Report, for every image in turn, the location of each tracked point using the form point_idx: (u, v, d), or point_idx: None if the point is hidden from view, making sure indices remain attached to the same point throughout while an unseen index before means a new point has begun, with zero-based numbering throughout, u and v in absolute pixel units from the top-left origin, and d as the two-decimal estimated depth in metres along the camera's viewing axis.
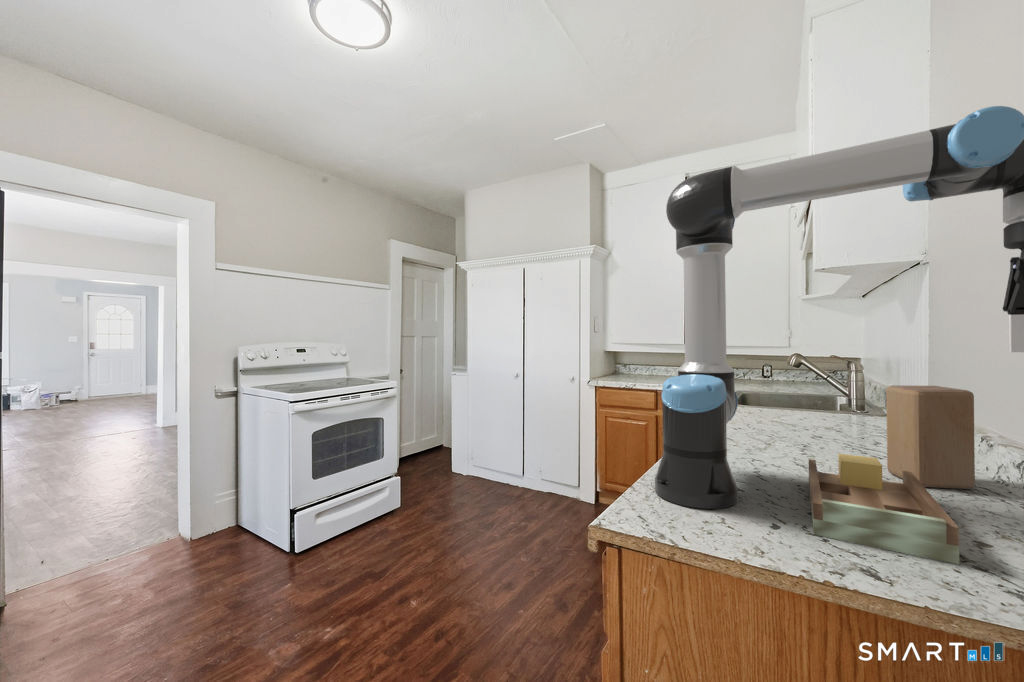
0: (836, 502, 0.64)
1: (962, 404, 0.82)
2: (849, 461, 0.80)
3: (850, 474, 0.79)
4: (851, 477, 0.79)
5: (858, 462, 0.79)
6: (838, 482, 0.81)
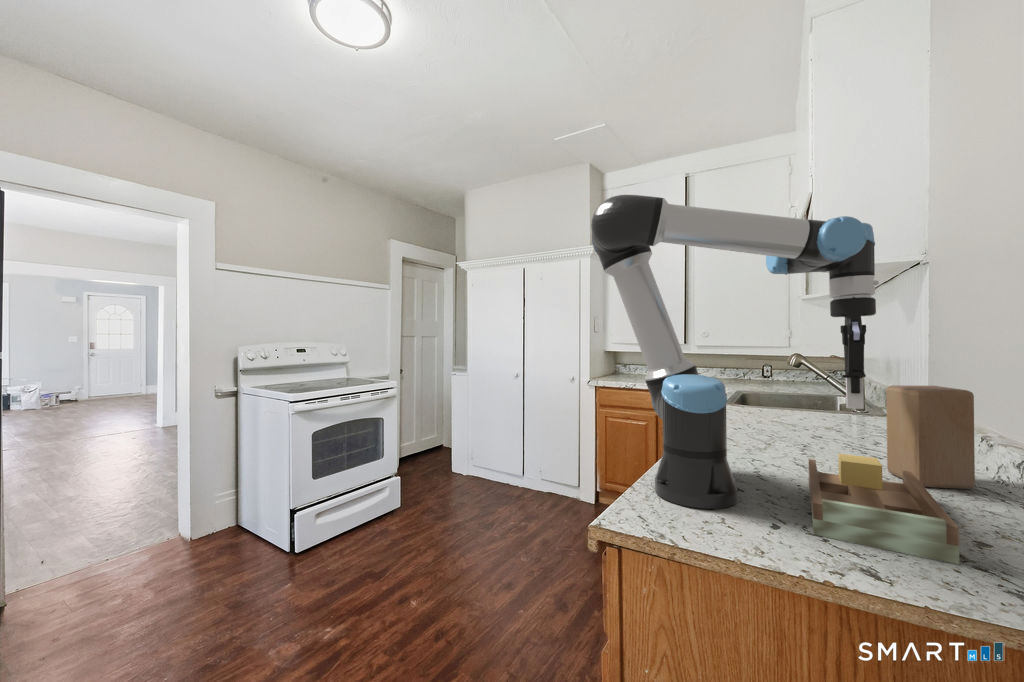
0: (836, 502, 0.64)
1: (962, 404, 0.82)
2: (849, 461, 0.80)
3: (850, 474, 0.79)
4: (851, 477, 0.79)
5: (858, 462, 0.79)
6: (838, 482, 0.81)
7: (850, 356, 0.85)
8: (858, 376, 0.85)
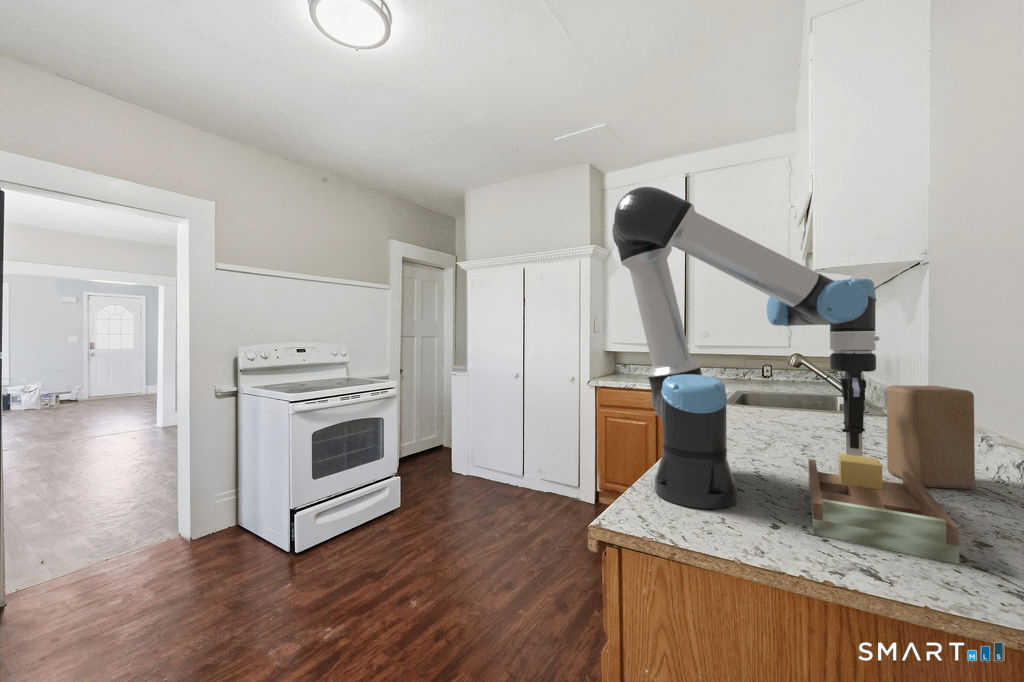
0: (836, 502, 0.64)
1: (962, 404, 0.82)
2: (849, 461, 0.80)
3: (850, 474, 0.79)
4: (851, 477, 0.79)
5: (858, 462, 0.79)
6: (838, 482, 0.81)
7: (850, 412, 0.85)
8: (857, 432, 0.85)
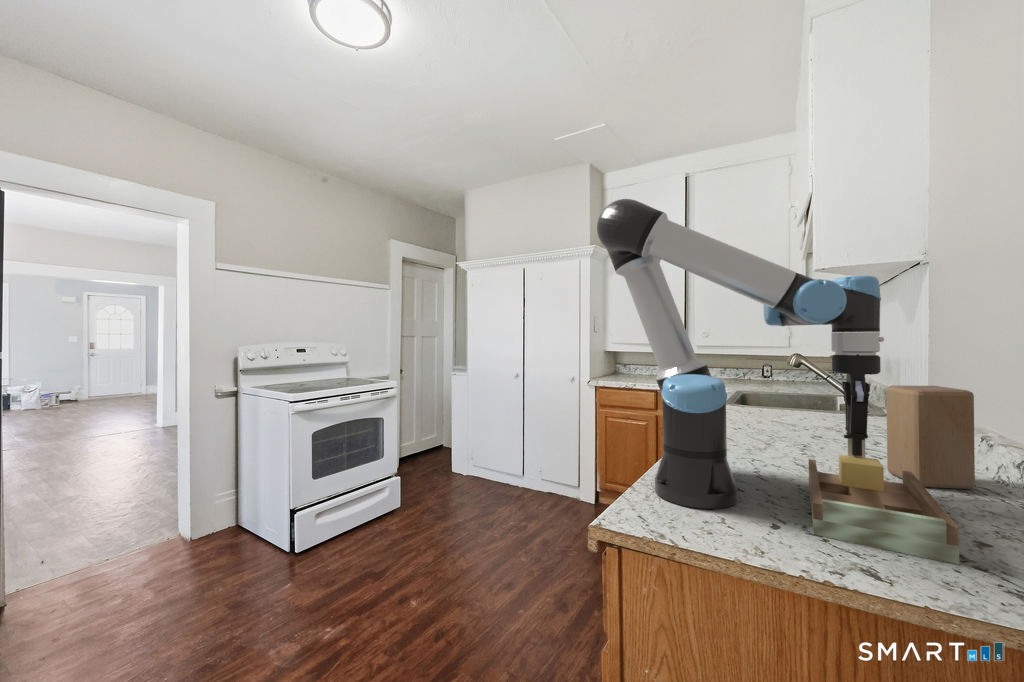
0: (836, 502, 0.64)
1: (962, 404, 0.82)
2: (850, 462, 0.79)
3: (851, 475, 0.78)
4: (853, 478, 0.78)
5: (859, 463, 0.78)
6: (838, 482, 0.81)
7: (852, 418, 0.80)
8: (860, 438, 0.80)
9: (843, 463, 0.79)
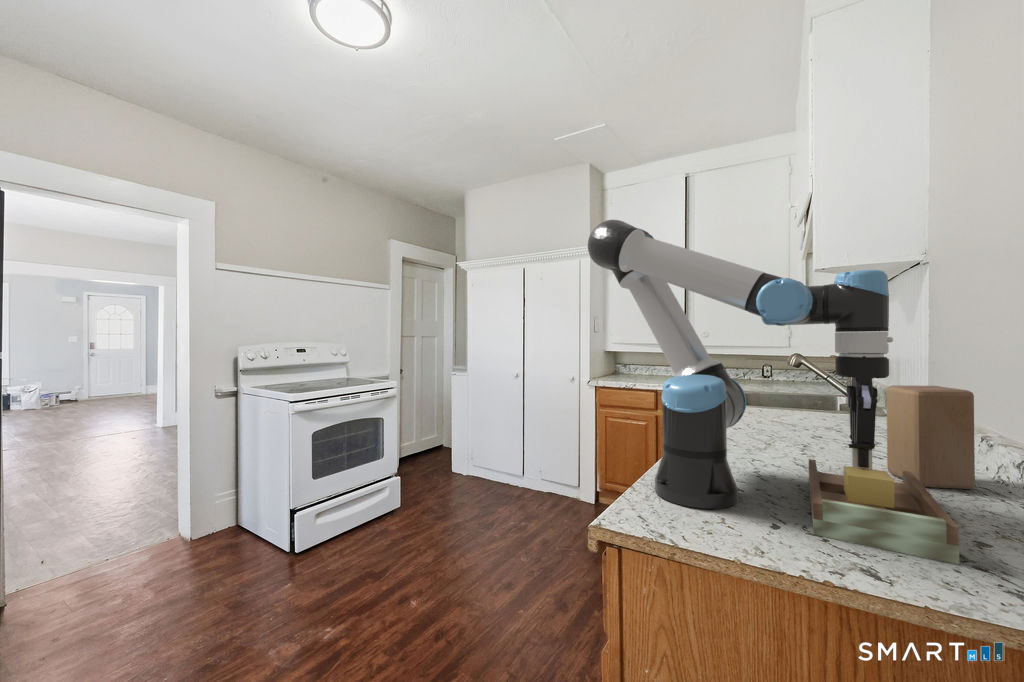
0: (836, 502, 0.64)
1: (962, 404, 0.82)
2: (857, 475, 0.71)
3: (858, 490, 0.71)
4: (860, 493, 0.71)
5: (867, 476, 0.71)
6: (838, 482, 0.81)
7: (859, 426, 0.72)
8: (867, 448, 0.73)
9: (849, 476, 0.72)
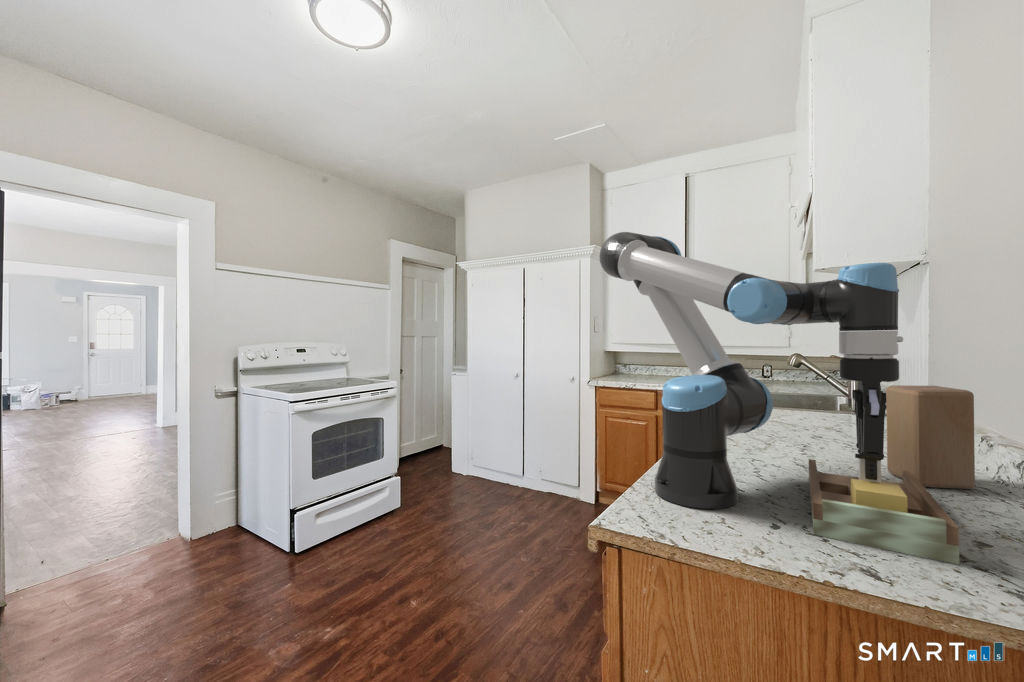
0: (836, 502, 0.64)
1: (962, 404, 0.82)
2: (866, 490, 0.65)
3: None
4: None
5: (877, 491, 0.64)
6: (838, 482, 0.81)
7: (866, 434, 0.66)
8: (875, 459, 0.67)
9: (857, 491, 0.65)
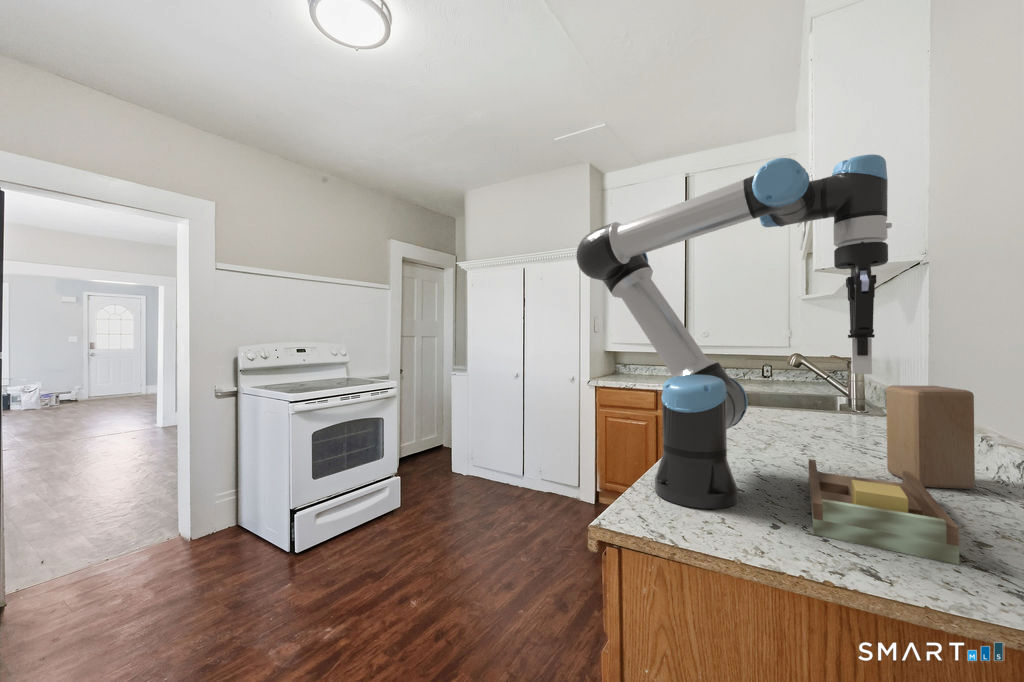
0: (836, 502, 0.64)
1: (962, 404, 0.82)
2: (866, 491, 0.64)
3: None
4: None
5: (877, 492, 0.64)
6: (838, 482, 0.81)
7: (857, 311, 0.72)
8: (866, 335, 0.73)
9: (857, 492, 0.65)
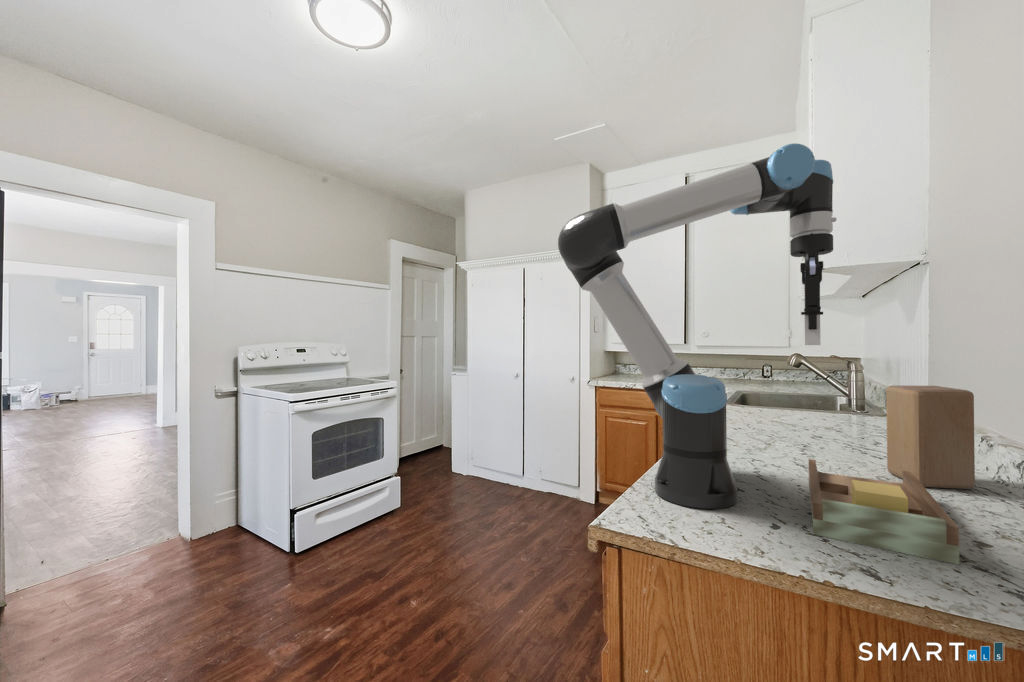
0: (836, 502, 0.64)
1: (962, 404, 0.82)
2: (866, 491, 0.64)
3: None
4: None
5: (877, 492, 0.64)
6: (838, 482, 0.81)
7: (807, 291, 0.86)
8: (815, 311, 0.87)
9: (857, 492, 0.65)
